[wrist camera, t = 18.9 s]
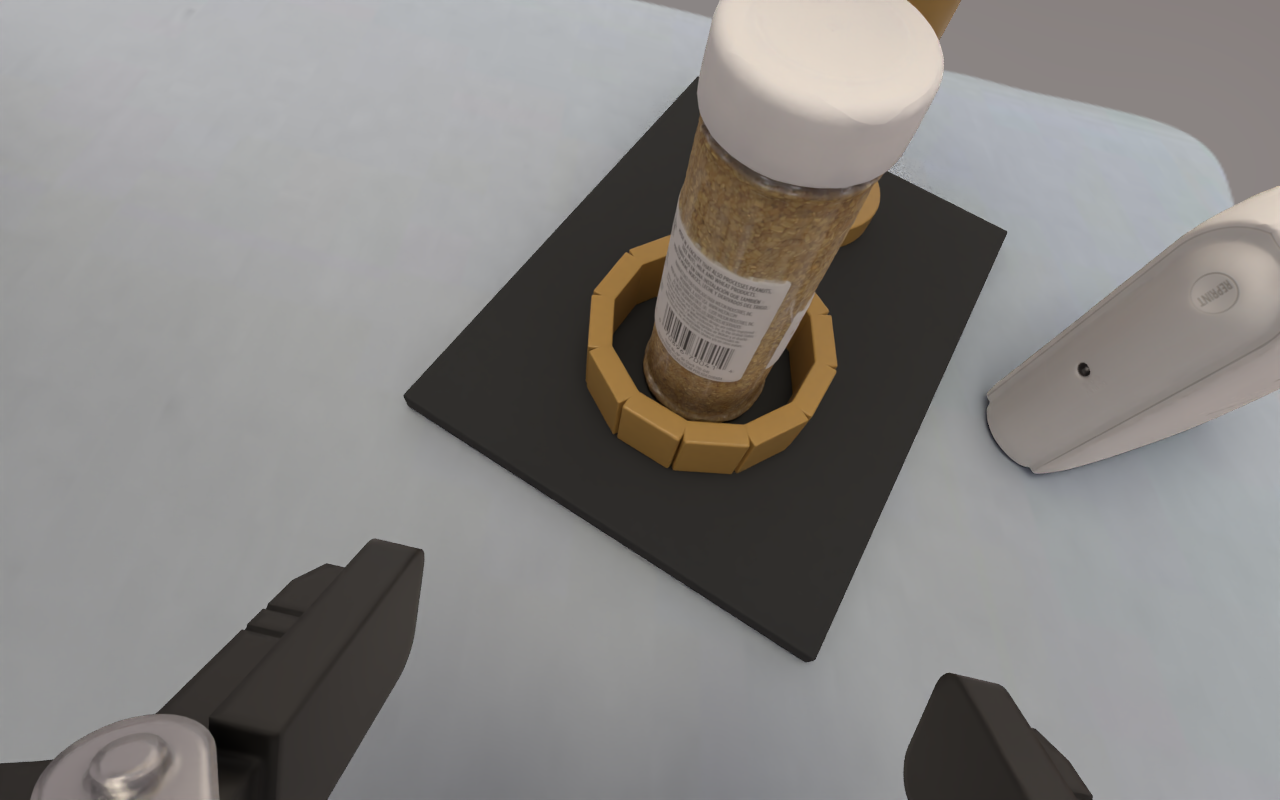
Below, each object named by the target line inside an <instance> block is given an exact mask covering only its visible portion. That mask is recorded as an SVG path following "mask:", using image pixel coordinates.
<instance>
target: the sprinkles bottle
mask: <svg viewBox="0 0 1280 800" xmlns="http://www.w3.org/2000/svg"><path fill="white" fill-rule="evenodd" d="M943 67H944V60H943V53H942V49H941V46H940V43H939V40H938V38H937V36H936V34H935V32H934V30H933V28H932V27H931V25H930V24H929V23H928V21H927V20H926V19H925V17H924V16H923V15H922V14H921V13H920V12H919V11H918V10H917V9H916V8H915V7H914V6H913V5H912V4H911V3H909V2H908V1H907V0H720V2H719V4H718V6H717V8H716V10H715V13H714V16H713V18H712V23H711V27H710V31H709V36H708V40H707V44H706V49H705V53H704V57H703V61H702V66H701V71H700V76H699V81H698V89H697V97H698V106H699V111H700V117H699V123H698V126H697V130H696V133H695V137H694V143H693V147H692V151H691V155H690V159H689V164H688V168H687V172H686V178H685V181H684V184H683V186H682V188H681V192H680V195H679V199H678V204H677V208H676V213H675V218H674V222H673V227H672V232H671V236H670V241H669V246H668V250H667V255H666V260H665V265H664V269H663V274H662V279H661V283H660V288H659V292H658V297H657V302H656V308H655V322H654V327H653V331H652V335H651V338H650V340H649V342H648V344H647V346H646V349H645V355H644V360H643V368H644V375H645V378H646V382H647V384H648V387H649V389H650V391H651V392H652V393H653V395H654V396H655V397H656V399H657V400H658V401H659V402H660V403H661V404H662V405H664V406H665V407H666V408H667V409H669V410H671V411H672V412H674V413H676V414H677V415H679V416H681V417H682V418H684V419H686V420H689V421H699V422H713V423H719V422H725V421H730V420H733V419H736V418H737V417H739V416H740V415H742V414H743V413H745V412H746V411H747V410H748V409H749V408H751V406H752V405H753V404H754V402H755V401H756V400H757V398H758V397H759V395H760V394H761V392H762V390H763V387H764V384H765V379H766V377H767V376H768V373H769V372H770V370H771V368H772V367H773V365H774V363H775V362H776V361H777V360H778V359H779V357H780V356H781V354H782V353H783V351H784V350H785V348H786V346H787V344H788V343H789V341H790V339H791V338H792V336H793V334H794V332H795V331H796V329H797V327H798V326H799V324H800V322H801V320H802V318H803V316H804V315H805V313H806V311H807V309H808V308H809V306H810V304H811V301H812V299H813V297H814V294H815V290H816V289H817V287H818V285H819V283H820V281H821V280H822V279H823V276H824V275H825V273H826V271H827V269H828V268H829V266H830V264H831V262H832V260H833V259H834V256H835V255H836V253H837V252H838V250H839V248H840V246H841V244H842V243H843V241H844V239H845V238H846V236H847V234H848V232H849V230H850V228H851V227H852V225H853V224H854V222H855V220H856V217H857V215H858V214H859V212H860V210H861V208H862V206H863V204H864V202H865V201H866V199H867V197H868V195H869V193H870V191H871V189H872V186H873V185H874V184H875V183H876V182H877V181H878V180H879V179H880V178H881V177H882V175H883V174H884V173H885V172H886V171H888V170H889V169H890V168H891V167H892V166H893V165H894V164H895V163H896V162H897V161H898V160H899V159H900V157H901V156H902V155H903V153H904V151H905V149H906V148H907V146H908V144H909V143H910V141H911V139H912V138H913V136H914V134H915V132H916V131H917V129H918V127H919V125H920V123H921V121H922V120H923V118H924V116H925V114H926V112H927V110H928V109H929V107H930V105H931V103H932V101H933V99H934V97H935V95H936V93H937V91H938V89H939V87H940V84H941V81H942V77H943Z"/></svg>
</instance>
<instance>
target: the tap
mask: <svg viewBox="0 0 1280 800" xmlns="http://www.w3.org/2000/svg"><path fill="white" fill-rule="evenodd" d="M907 1H908V2H909V3H911V4H912V5H913V6H914V7H915V8H916V9H917V10H918V11H919V12H920V13H921V14H922V15H923V16H924V17H925V19H926V20H927V21H928V23H929V24H930V25H931V27H932V28H933V30H934V32H935V34H936V36H937V38H938V40H940V38H941V36H942V34H943V33H944V31H945V29H946V27H947V25H948V23H949V22H950V20H951V18H952V16H953V14H954V12H955V11H956V9H957V7H958V5H959V3H960V1H961V0H907ZM879 203H880V188H879V184H878V181H877V182H876V183H875V184H874V185H873V186H872V189H871V191H870V193H869V195H868V197H867V199H866V201H865V202H864V204H863V206H862V208H861V210H860V212H859V214H858V215H857V217H856V220H855V222H854V224H853V225H852V227H851V228H850V230H849V232H848V234H847V236H846V238H845V239H844V241H843V243H842V244H841V246H840V247H842V246H845V245H847V244H849V243H851V242H853V241H855V240H856V239H857V238H859V237H860V236H861V235H862V234H863V232H864V231H865V230H866V228H867V226H868V225H869V223H870V221H871V220H872V218H873V216H874V215H875V213H876V211H877V209H878V207H879ZM670 236H671V235H669V236H666V237H663V238H660V239H658V240H655V241H652V242H649V243H646V244H644V245H641V246H638V247H635V248H633V249H630V250H629V253H627V252H626V253H625V254H624V255H623V256H622V257H621V258H620V260H619V261H618V262H617V263H616V264H615V266H614V267H613V268H612V269H611V270H610V272H609V273H608V274H607V275H606V276H605V278H604V279H603V280H602V281H601V282H600V284H599V285H598V286H597V287H596V288H595V290H594V293H593V295H592V296H591V309H590V322H589V335H588V348H587V364H586V380H585V381H586V382H587V388H588V390H589V392H590V394H591V395H592V397H593V399H594V401H595V403H596V404H597V406H598V408H599V410H600V412H601V414H602V415H603V417H604V419H605V421H606V423H607V424H608V426H609V428H610V430H611V432H612V433H613V434H615V433H617V432H618V434H617V437H618V439H620V440H622V441H623V442H625V443H627V444H628V445H630V446H631V447H633V448H635V449H636V450H638V451H640V452H641V453H643V454H644V455H646V456H648V457H649V458H651V459H653V460H654V461H656V462H657V463H659V464H661V465H662V466H664V467H665V468H668V467H670V465H671V464H672V469H673V470H675V471H690V472H705V473H721V474H732V473H733V471H734V470H735V472H736V473H739V472H741V471H743V470H745V469H747V468H749V467H751V466H753V465H755V464H757V463H759V462H761V461H763V460H765V459H767V458H769V457H771V456H773V455H775V454H777V453H779V452H781V451H783V450H785V449H786V448H787V447H788V446H789V445H790V444H791V443H792V442H793V440H794V439H795V438H796V437H797V435H798V434H799V433H800V431H801V430H802V429H803V428H804V426H805V425H806V424H807V423H808V421H809V420H810V419H811V418H812V416H813V414H814V413H815V411H816V409H817V407H818V405H819V404H820V402H821V400H822V398H823V396H824V394H825V393H826V391H827V389H828V387H829V385H830V383H831V382H832V380H833V378H834V376H835V374H836V370H835V369H836V368H837V358H836V350H835V341H834V333H833V325H832V317H831V316H830V315H827V314H828V313H829V310H828V309H827V307H826V306H825V305H824V303H823V302H822V301H821V299H820V298H819V297H818V295H817V294H816V293H815V294H814V297H813V299H812V301H811V304H810V306H809V308H808V309H807V311H806V313H805V315H804V316H803V318H802V320H801V322H800V324H799V326H798V327H797V329H796V331H795V332H794V334H793V336H792V338H791V339H790V341H789V343H788V344H787V346H786V348H787V350H788V351H789V357H790V369H791V381H792V393H793V394H792V396H791V398H790V399H789V401H788V403H787V404H786V405H784V406H782V407H780V408H778V409H776V410H774V411H772V412H770V413H768V414H765V415H763V416H761V417H759V418H757V419H755V420H753V421H751V422H749V423H747V424H744V425H741V424H727V423H713V422H699V421H687V420H686V419H684V418H682V417H681V416H679V415H677V414H676V413H674V412H672V411H671V410H669V409H667V408H666V407H664V406H662V405H661V404H659V403H657V402H656V401H654V400H652V399H651V398H649V397H647V396H646V395H644V394H642V393H640V392H639V391H638V389H637V388H636V386H635V384H634V382H633V381H632V379H631V377H630V376H629V374H628V372H627V371H626V369H625V367H624V365H623V364H622V362H621V360H620V359H619V357H618V355H617V353H616V352H615V350H614V348H613V347H612V341H613V333H614V332H615V331H616V330H617V328H618V327H619V326H620V324H621V323H622V322H623V321H624V319H625V318H626V317H627V315H628V314H629V313H630V312H631V310H632V309H633V308H634V307H635V305H636V304H639V303H642V302H644V301H647V300H649V299H652V298H654V297H657V296H658V292H659V288H660V283H661V279H662V274H663V269H664V265H665V260H666V255H667V250H668V246H669V241H670Z"/></svg>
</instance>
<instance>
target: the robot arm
mask: <svg viewBox="0 0 1280 800" xmlns="http://www.w3.org/2000/svg"><path fill="white" fill-rule="evenodd" d="M423 568H424V551H423V550H422V549H418V548H414V547H409V546H405V545H401V544H396V543H392V542H388V541H383V540H379V539H372V540H370V541H369V542H368V543H367V544H366V545H365V546H364V547H363V548H362V549H361V550H360V552H359V553H358V554H357V555H356V556H355V557H354V558H353V559H352V560H351V561H350V563H349V564H348V565H347V566H346V567H345V568H344V567H340V566H336V565H331V564H327V563H326V564H324V565H322V566H320V567H318V568H316V569H314V570H312V571H310V572H308V573H306V574H304V575H302V576H300V577H298V578H296V579H294V580H292V581H291V582H290V583H289V584H288V585H287V586H286V587H285V588H284V589H283V590H282V591H281V592H280V593H279V594H278V595H277V596H276V597H275V598H274V599H272V600H271V601H270V602H269V603H268V606H267V608H266V609H262V610H261V611H260V612H259V613H258V614H257V615H256V616H255V617H254V618H253V619H252V620H251V621H250V622H249V623H248V624H247V627H246V629H245V630H241V631H240V632H239V633H238V634H237V635H236V636H235V637H234V638H233V639H232V640H231V641H230V642H229V643H228V644H227V645H226V646H225V647H224V648H223V649H222V650H221V651H220V652H219V653H218V654H216V655H215V656H214V657H213V658H212V659H211V660H210V661H209V662H208V663H207V664H206V665H205V666H204V667H203V668H202V669H201V670H200V671H199V672H198V673H197V674H196V675H195V676H194V677H193V678H192V679H191V680H190V681H189V682H188V683H187V684H186V685H185V686H184V687H183V688H182V689H181V690H180V691H179V692H178V693H177V694H176V695H175V696H174V697H173V698H172V699H171V700H170V701H169V702H168V703H167V704H166V705H165V706H164V707H163V708H162V709H160V710H159V711H158V712H157V713H156V714H152V715H143V716H138V717H132V718H129V719H125V720H121V721H118V722H115V723H112V724H110V725H107V726H104V727H102V728H100V729H98V730H96V731H94V732H92V733H89V734H88V735H86V736H84V737H83V738H81V739H79V740H78V741H76V742H74V743H73V744H72V745H70V746H69V747H68V748H66V749H65V750H64V751H62V752H61V753H60V754H59V755H58V756H57V757H56V758H55V759H54V760H45V761H34V762H17V763H0V800H327V799H328V797H329V796H330V794H331V792H332V791H333V789H334V787H335V785H336V784H337V782H338V780H339V779H340V777H341V775H342V774H343V772H344V770H345V769H346V767H347V765H348V764H349V762H350V760H351V758H352V757H353V755H354V753H355V752H356V750H357V748H358V747H359V745H360V743H361V742H362V740H363V738H364V736H365V735H366V733H367V731H368V730H369V728H370V726H371V725H372V723H373V721H374V720H375V718H376V716H377V715H378V713H379V711H380V709H381V708H382V706H383V704H384V703H385V701H386V699H387V698H388V696H389V694H390V693H391V691H392V689H393V688H394V686H395V684H396V682H397V681H398V679H399V677H400V675H401V673H402V671H403V669H404V667H405V665H406V662H407V659H408V657H409V654H410V650H411V647H412V643H413V639H414V634H415V628H416V620H417V613H418V605H419V598H420V591H421V583H422V576H423ZM904 786H905V791H906V795H907V798H908V800H1092V797H1093V796H1092V794H1091V793H1090V791H1089V790H1088V788H1087V787H1086V785H1085V784H1084V782H1083V781H1082V780H1081V778H1080V777H1079V775H1078V774H1077V772H1076V771H1075V769H1074V768H1073V766H1072V765H1071V763H1070V762H1069V761H1068V760H1067V759H1066V758H1065V757H1064V756H1063V755H1062V754H1061V753H1060V752H1059V751H1058V750H1057V749H1056V748H1055V747H1054V746H1053V745H1052V744H1051V743H1050V742H1049V741H1048V740H1047V739H1046V738H1045V737H1044V736H1042V735H1041V734H1040V733H1039V732H1038V731H1037V730H1036V729H1034V728H1031V727H1030V725H1029V724H1028V722H1027V721H1026V719H1025V718H1024V716H1023V715H1022V713H1021V711H1020V710H1019V708H1018V707H1017V705H1016V704H1015V702H1014V701H1013V699H1012V698H1011V696H1010V694H1009V693H1008V692H1007V690H1006V689H1005V688H1004V687H1003V686H1001V685H999V684H996V683H991V682H987V681H983V680H978V679H974V678H970V677H965V676H961V675H957V674H952V673H946V674H944V675H943V676H941V677H940V679H939V680H938V682H937V684H936V685H935V688H934V690H933V692H932V694H931V697H930V699H929V701H928V703H927V706H926V708H925V710H924V712H923V715H922V717H921V719H920V721H919V724H918V726H917V728H916V730H915V733H914V735H913V737H912V739H911V742H910V744H909V746H908V749H907V751H906V755H905V760H904Z"/></svg>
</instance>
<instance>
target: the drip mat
mask: <svg viewBox="0 0 1280 800" xmlns="http://www.w3.org/2000/svg"><path fill="white" fill-rule="evenodd" d="M698 81H699V77H697V78H696V79H695V80H694V81H693V82H692V83H691V84H690V85H689V87H688V88H687V89H686V90H685V91H684V92H683V93H682V94H681V95H680V96H679V97H678V98H677V100H676V101H675V102H674V103H673V104H672V105H671V106H670V107H669V108H668V109H667V110H666V111H665V113H664V114H663V115H662V116H661V117H660V118H659V119H658V120H657V121H656V122H655V123H654V124H653V126H652V127H651V128H650V129H649V130H648V131H647V132H646V133H645V134H644V135H643V136H642V137H641V139H640V140H639V141H638V142H637V143H636V144H635V145H634V146H633V147H632V148H631V149H630V150H629V152H628V153H627V154H626V155H625V156H624V157H623V158H622V159H621V160H620V161H619V162H618V163H617V165H616V166H615V167H614V168H613V169H612V170H611V171H610V172H609V173H608V174H607V175H606V176H605V177H604V179H603V180H602V181H601V182H600V183H599V184H598V185H597V186H596V187H595V188H594V189H593V190H592V192H591V193H590V194H589V195H588V196H587V197H586V198H585V199H584V200H583V201H582V202H581V203H580V205H579V206H578V207H577V208H576V209H575V210H574V211H573V212H572V213H571V214H570V215H569V216H568V218H567V219H566V220H565V221H564V222H563V223H562V224H561V225H560V226H559V227H558V228H557V229H556V231H555V232H554V233H553V234H552V235H551V236H550V237H549V238H548V239H547V240H546V241H545V242H544V244H543V245H542V246H541V247H540V248H539V249H538V250H537V251H536V252H535V253H534V254H533V255H532V257H531V258H530V259H529V260H528V261H527V262H526V263H525V264H524V265H523V266H522V267H521V268H520V270H519V271H518V272H517V273H516V274H515V275H514V276H513V277H512V278H511V279H510V280H509V281H508V283H507V284H506V285H505V286H504V287H503V288H502V289H501V290H500V291H499V292H498V293H497V294H496V296H495V297H494V298H493V299H492V300H491V301H490V302H489V303H488V304H487V305H486V306H485V307H484V309H483V310H482V311H481V312H480V313H479V314H478V315H477V316H476V317H475V318H474V319H473V320H472V322H471V323H470V324H469V325H468V326H467V327H466V328H465V329H464V330H463V331H462V332H461V333H460V334H459V336H458V337H457V338H456V339H455V340H454V341H453V342H452V343H451V344H450V345H449V346H448V347H447V349H446V350H445V351H444V352H443V353H442V354H441V355H440V356H439V357H438V358H437V359H436V360H435V362H434V363H433V364H432V365H431V366H430V367H429V368H428V369H427V370H426V371H425V372H424V373H423V375H422V376H421V377H420V378H419V379H418V380H417V381H416V382H415V383H414V384H413V385H412V386H411V388H410V389H409V390H408V391H407V392H406V393H405V394H404V398H405V400H406V402H407V405H408V406H409V407H411V408H413V409H414V410H416V411H417V412H419V413H420V414H422V415H423V416H425V417H427V418H428V419H430V420H431V421H433V422H434V423H436V424H437V425H439V426H440V427H442V428H444V429H445V430H447V431H448V432H450V433H451V434H453V435H454V436H456V437H458V438H459V439H461V440H462V441H464V442H465V443H467V444H468V445H470V446H471V447H473V448H475V449H476V450H478V451H479V452H481V453H482V454H484V455H485V456H487V457H489V458H490V459H492V460H493V461H495V462H496V463H498V464H499V465H501V466H502V467H504V468H506V469H507V470H509V471H510V472H512V473H513V474H515V475H516V476H518V477H520V478H521V479H523V480H524V481H526V482H527V483H529V484H530V485H532V486H533V487H535V488H537V489H538V490H540V491H541V492H543V493H544V494H546V495H547V496H549V497H551V498H552V499H554V500H555V501H557V502H558V503H560V504H561V505H563V506H564V507H566V508H568V509H569V510H571V511H572V512H574V513H575V514H577V515H578V516H580V517H582V518H583V519H585V520H586V521H588V522H589V523H591V524H592V525H594V526H595V527H597V528H599V529H600V530H602V531H603V532H605V533H606V534H608V535H609V536H611V537H613V538H614V539H616V540H617V541H619V542H620V543H622V544H623V545H625V546H626V547H628V548H630V549H631V550H633V551H634V552H636V553H637V554H639V555H640V556H642V557H644V558H645V559H647V560H648V561H650V562H651V563H653V564H654V565H656V566H657V567H659V568H661V569H662V570H664V571H665V572H667V573H668V574H670V575H671V576H673V577H675V578H676V579H678V580H679V581H681V582H682V583H684V584H685V585H687V586H688V587H690V588H692V589H693V590H695V591H696V592H698V593H699V594H701V595H702V596H704V597H706V598H707V599H709V600H710V601H712V602H713V603H715V604H716V605H718V606H719V607H721V608H723V609H724V610H726V611H727V612H729V613H730V614H732V615H733V616H735V617H737V618H738V619H740V620H741V621H743V622H744V623H746V624H747V625H749V626H750V627H752V628H754V629H755V630H757V631H758V632H760V633H761V634H763V635H764V636H766V637H768V638H769V639H771V640H772V641H774V642H775V643H777V644H778V645H780V646H781V647H783V648H785V649H786V650H788V651H789V652H791V653H792V654H794V655H795V656H797V657H799V658H800V659H802V660H803V661H805V662H810V661H813V660H815V659H816V657H817V654H818V652H819V650H820V648H821V646H822V643H823V641H824V639H825V637H826V634H827V632H828V630H829V628H830V626H831V623H832V621H833V619H834V617H835V614H836V612H837V610H838V608H839V606H840V603H841V601H842V599H843V597H844V594H845V592H846V590H847V588H848V586H849V583H850V581H851V579H852V577H853V574H854V572H855V570H856V568H857V566H858V563H859V561H860V559H861V557H862V554H863V552H864V550H865V548H866V546H867V543H868V541H869V539H870V537H871V534H872V532H873V530H874V528H875V526H876V523H877V521H878V519H879V517H880V514H881V512H882V510H883V508H884V506H885V503H886V501H887V499H888V497H889V494H890V492H891V490H892V488H893V486H894V483H895V481H896V479H897V477H898V474H899V472H900V470H901V468H902V466H903V463H904V461H905V459H906V457H907V454H908V452H909V450H910V448H911V446H912V443H913V441H914V439H915V437H916V434H917V432H918V430H919V428H920V426H921V423H922V421H923V419H924V417H925V414H926V412H927V410H928V408H929V406H930V403H931V401H932V399H933V397H934V394H935V392H936V390H937V388H938V386H939V383H940V381H941V379H942V377H943V374H944V372H945V370H946V368H947V366H948V363H949V361H950V359H951V357H952V354H953V352H954V350H955V348H956V346H957V343H958V341H959V339H960V337H961V334H962V332H963V330H964V328H965V326H966V323H967V321H968V319H969V317H970V314H971V312H972V310H973V308H974V306H975V303H976V301H977V299H978V297H979V294H980V292H981V290H982V288H983V286H984V283H985V281H986V279H987V277H988V274H989V272H990V270H991V268H992V266H993V263H994V261H995V259H996V257H997V254H998V252H999V250H1000V248H1001V246H1002V243H1003V241H1004V239H1005V237H1006V234H1007V231H1005V230H1003V229H1001V228H999V227H997V226H995V225H993V224H991V223H989V222H987V221H985V220H983V219H981V218H979V217H977V216H975V215H973V214H971V213H969V212H967V211H965V210H964V209H962V208H960V207H958V206H956V205H954V204H952V203H950V202H948V201H946V200H944V199H942V198H940V197H938V196H936V195H934V194H932V193H930V192H928V191H926V190H924V189H922V188H920V187H918V186H916V185H914V184H912V183H910V182H908V181H906V180H904V179H902V178H900V177H898V176H896V175H894V174H892V173H890V172H888V171H886V172H885V173H884V174H883V175H882V177H881V178H880V179H879V180H878V184H879V188H880V203H879V207H878V209H877V211H876V213H875V215H874V216H873V218H872V220H871V221H870V223H869V225H868V226H867V228H866V230H865V231H864V232H863V234H862V235H861V236H860V237H859V238H857V239H856V240H855V241H853V242H851V243H849V244H847V245H845V246H842V247H840V248H839V250H838V252H837V253H836V255H835V256H834V259H833V260H832V262H831V264H830V266H829V268H828V269H827V271H826V273H825V275H824V276H823V279H822V280H821V281H820V283H819V285H818V287H817V289H816V290H815V293H816V294H817V295H818V297H819V298H820V299H821V301H822V302H823V303H824V305H825V306H826V307H827V309H828V310H829V313H828V314H827V315H830V316H831V317H832V325H833V333H834V341H835V350H836V358H837V368H836V369H835V370H836V374H835V376H834V378H833V380H832V382H831V383H830V385H829V387H828V389H827V391H826V393H825V394H824V396H823V398H822V400H821V402H820V404H819V405H818V407H817V409H816V411H815V413H814V414H813V416H812V418H811V419H810V420H809V421H808V423H807V424H806V425H805V426H804V428H803V429H802V430H801V431H800V433H799V434H798V435H797V437H796V438H795V439H794V440H793V442H792V443H791V444H790V445H789V446H788V447H787V448H786V449H785V450H783V451H781V452H779V453H777V454H775V455H773V456H771V457H769V458H767V459H765V460H763V461H761V462H759V463H757V464H755V465H753V466H751V467H749V468H747V469H745V470H743V471H741V472H739V473H736V472H735V470H734V471H733V473H732V474H721V473H705V472H690V471H675V470H673V469H672V464H671V465H670V467H668V468H665V467H664V466H662V465H661V464H659V463H657V462H656V461H654V460H653V459H651V458H649V457H648V456H646V455H644V454H643V453H641V452H640V451H638V450H636V449H635V448H633V447H631V446H630V445H628V444H627V443H625V442H623V441H622V440H620V439H618V437H617V434H618V432H617V433H615V434H613V433H612V432H611V430H610V428H609V426H608V424H607V423H606V421H605V419H604V417H603V415H602V414H601V412H600V410H599V408H598V406H597V404H596V403H595V401H594V399H593V397H592V395H591V394H590V392H589V390H588V388H587V382H586V381H585V380H586V364H587V348H588V335H589V322H590V309H591V296H592V295H593V293H594V290H595V288H596V287H597V286H598V285H599V284H600V282H601V281H602V280H603V279H604V278H605V276H606V275H607V274H608V273H609V272H610V270H611V269H612V268H613V267H614V266H615V264H616V263H617V262H618V261H619V260H620V258H621V257H622V256H623V255H624V254H625V253H626V252H627V253H629V250H630V249H633V248H635V247H638V246H641V245H644V244H646V243H649V242H652V241H655V240H658V239H660V238H663V237H666V236H669V235H671V232H672V227H673V222H674V218H675V213H676V208H677V204H678V199H679V195H680V192H681V188H682V186H683V184H684V181H685V178H686V172H687V168H688V164H689V159H690V155H691V151H692V147H693V143H694V137H695V133H696V130H697V126H698V123H699V117H700V111H699V106H698V97H697V89H698ZM657 297H658V296H657ZM657 297H654V298H652V299H649V300H647V301H644V302H642V303H639V304H636V305H635V307H634V308H633V309H632V310H631V312H630V313H629V314H628V315H627V317H626V318H625V319H624V321H623V322H622V323H621V324H620V326H619V327H618V328H617V330H616V331H615V332H614V333H613V341H612V347H613V348H614V350H615V352H616V353H617V355H618V357H619V359H620V360H621V362H622V364H623V365H624V367H625V369H626V371H627V372H628V374H629V376H630V377H631V379H632V381H633V382H634V384H635V386H636V388H637V389H638V391H639V392H640V393H642V394H644V395H646V396H647V397H649V398H651V399H652V400H654V401H656V402H657V403H659V404H661V403H660V402H659V401H658V400H657V399H656V397H655V396H654V395H653V393H652V392H651V391H650V389H649V387H648V384H647V382H646V378H645V375H644V368H643V360H644V355H645V349H646V346H647V344H648V342H649V340H650V338H651V335H652V331H653V327H654V322H655V308H656V302H657ZM792 394H793V393H792V381H791V369H790V357H789V351H788V350H787V348H785V350H784V351H783V353H782V354H781V356H780V357H779V359H778V360H777V361H776V362H775V363H774V365H773V367H772V368H771V370H770V372H769V373H768V376H767V377H766V379H765V384H764V387H763V390H762V392H761V394H760V395H759V397H758V398H757V400H756V401H755V402H754V404H753V405H752V406H751V408H749V409H748V410H747V411H746V412H745V413H743V414H742V415H740V416H739V417H737V418H736V419H733V420H730V421H725V422H719V423H727V424H741V425H744V424H747V423H749V422H751V421H753V420H755V419H757V418H759V417H761V416H763V415H765V414H768V413H770V412H772V411H774V410H776V409H778V408H780V407H782V406H784V405H786V404H787V403H788V401H789V399H790V398H791V396H792ZM661 405H662V404H661ZM662 406H664V405H662ZM664 407H665V406H664ZM687 421H689V420H687Z"/></svg>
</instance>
